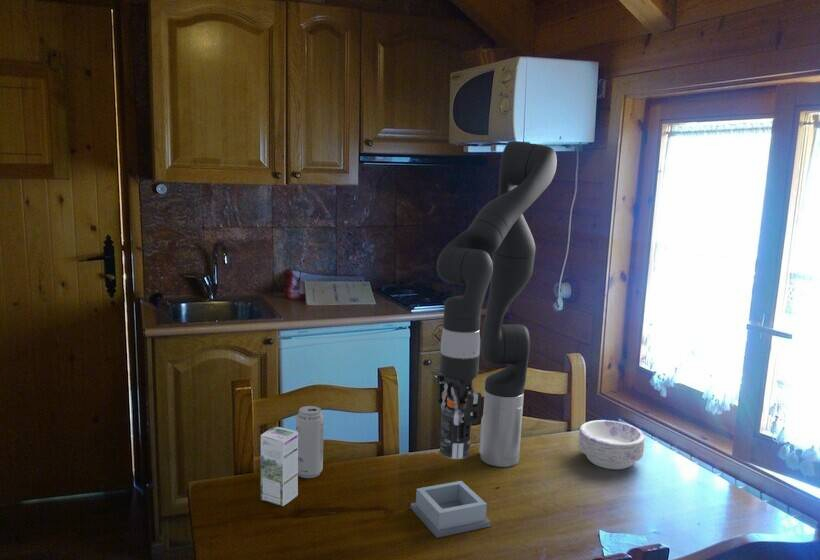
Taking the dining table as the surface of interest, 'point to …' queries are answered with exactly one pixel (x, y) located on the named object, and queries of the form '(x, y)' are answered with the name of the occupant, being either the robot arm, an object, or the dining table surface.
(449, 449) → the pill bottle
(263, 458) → the syrup box
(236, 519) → the dining table surface
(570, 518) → the dining table surface
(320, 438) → the energy drink can
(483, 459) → the robot arm
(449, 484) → the holder
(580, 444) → the paper bowls
